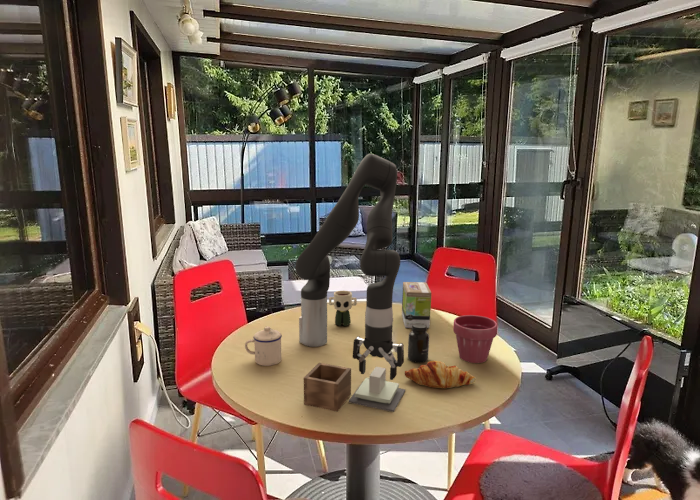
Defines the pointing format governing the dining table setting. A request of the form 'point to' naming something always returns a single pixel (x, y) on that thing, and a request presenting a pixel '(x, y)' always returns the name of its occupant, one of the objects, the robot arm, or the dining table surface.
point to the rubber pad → (379, 405)
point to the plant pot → (474, 337)
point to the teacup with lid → (266, 346)
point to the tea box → (416, 303)
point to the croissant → (439, 375)
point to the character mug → (342, 306)
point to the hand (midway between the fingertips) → (377, 375)
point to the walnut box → (327, 386)
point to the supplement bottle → (418, 343)
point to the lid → (377, 387)
